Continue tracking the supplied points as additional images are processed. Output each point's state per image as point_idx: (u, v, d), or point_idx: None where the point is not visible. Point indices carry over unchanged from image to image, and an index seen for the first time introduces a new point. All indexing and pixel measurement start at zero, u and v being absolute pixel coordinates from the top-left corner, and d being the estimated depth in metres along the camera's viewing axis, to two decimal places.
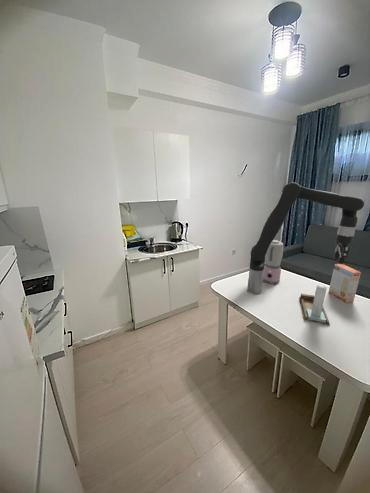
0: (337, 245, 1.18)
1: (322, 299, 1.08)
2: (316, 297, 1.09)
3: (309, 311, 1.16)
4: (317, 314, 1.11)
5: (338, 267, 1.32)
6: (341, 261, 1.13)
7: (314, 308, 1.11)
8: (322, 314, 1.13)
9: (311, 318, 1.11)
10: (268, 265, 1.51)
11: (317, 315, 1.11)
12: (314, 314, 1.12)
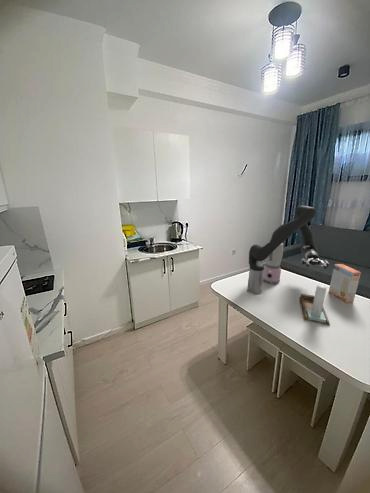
0: (312, 258, 1.31)
1: (322, 299, 1.08)
2: (316, 297, 1.09)
3: (309, 311, 1.16)
4: (317, 314, 1.11)
5: (338, 267, 1.32)
6: None
7: (314, 308, 1.11)
8: (322, 314, 1.13)
9: (311, 318, 1.11)
10: (268, 265, 1.51)
11: (317, 315, 1.11)
12: (314, 314, 1.12)
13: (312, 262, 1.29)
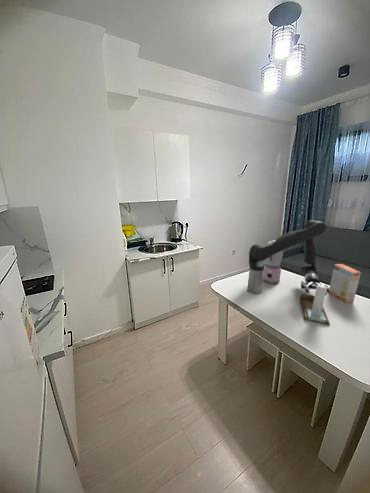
0: (312, 282, 1.25)
1: (322, 299, 1.08)
2: (316, 297, 1.09)
3: (309, 311, 1.16)
4: (317, 314, 1.11)
5: (338, 267, 1.32)
6: None
7: (314, 308, 1.11)
8: (322, 314, 1.13)
9: (311, 318, 1.11)
10: (268, 265, 1.51)
11: (317, 315, 1.11)
12: (314, 314, 1.12)
13: (312, 287, 1.23)
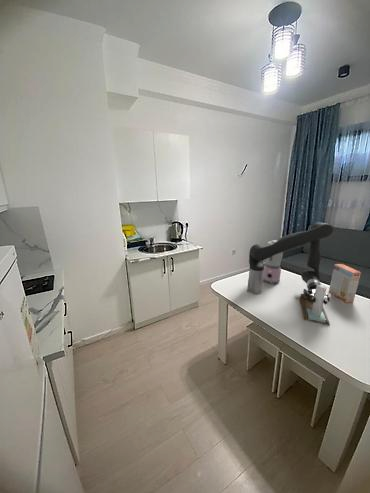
0: (314, 289, 1.17)
1: (322, 299, 1.08)
2: (316, 297, 1.09)
3: (309, 311, 1.16)
4: (317, 314, 1.11)
5: (338, 267, 1.32)
6: None
7: (314, 308, 1.11)
8: (322, 314, 1.13)
9: (311, 318, 1.11)
10: (268, 265, 1.51)
11: (317, 315, 1.11)
12: (314, 314, 1.12)
13: None
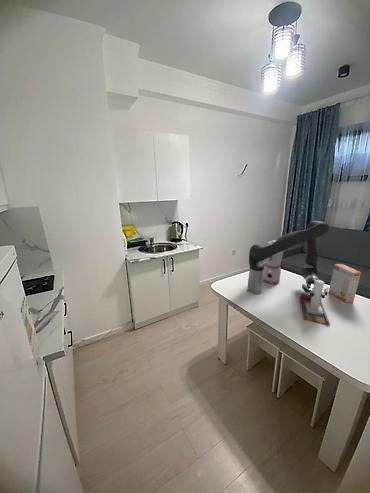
0: (313, 284, 1.22)
1: (320, 293, 1.14)
2: (314, 291, 1.15)
3: (308, 305, 1.21)
4: (315, 308, 1.17)
5: (338, 267, 1.32)
6: None
7: (312, 302, 1.17)
8: (320, 308, 1.19)
9: (309, 311, 1.17)
10: (268, 265, 1.51)
11: (315, 309, 1.17)
12: (312, 308, 1.17)
13: None
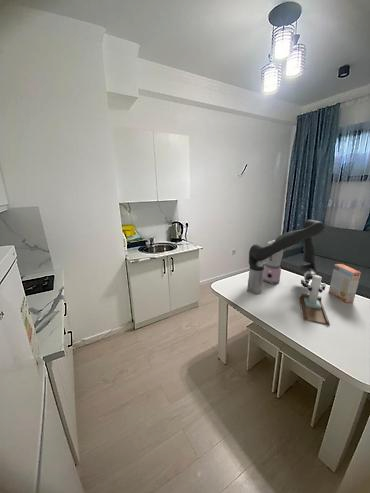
0: (311, 279, 1.28)
1: (317, 288, 1.19)
2: (312, 286, 1.21)
3: (306, 300, 1.27)
4: (313, 302, 1.22)
5: (338, 267, 1.32)
6: None
7: (310, 296, 1.23)
8: (318, 302, 1.24)
9: (308, 305, 1.22)
10: (268, 265, 1.51)
11: (313, 303, 1.22)
12: (310, 302, 1.23)
13: None
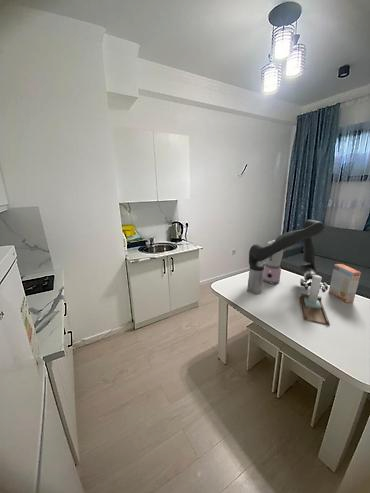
0: (311, 279, 1.28)
1: (317, 288, 1.19)
2: (312, 286, 1.21)
3: (306, 300, 1.27)
4: (313, 302, 1.22)
5: (338, 267, 1.32)
6: None
7: (310, 296, 1.23)
8: (318, 302, 1.24)
9: (308, 305, 1.22)
10: (268, 265, 1.51)
11: (313, 303, 1.23)
12: (310, 302, 1.23)
13: None
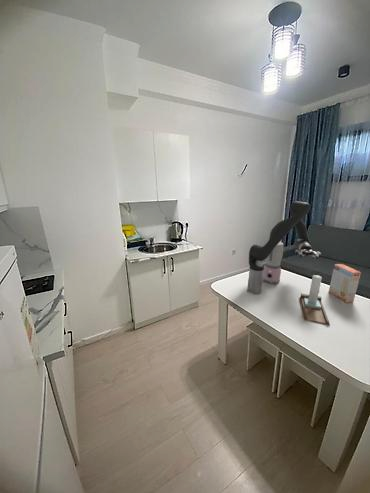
0: (305, 249, 1.35)
1: (317, 288, 1.19)
2: (312, 286, 1.21)
3: (306, 300, 1.27)
4: (313, 302, 1.22)
5: (338, 267, 1.32)
6: None
7: (310, 296, 1.23)
8: (318, 302, 1.24)
9: (308, 305, 1.22)
10: (268, 265, 1.51)
11: (313, 303, 1.23)
12: (310, 302, 1.23)
13: (305, 253, 1.33)
